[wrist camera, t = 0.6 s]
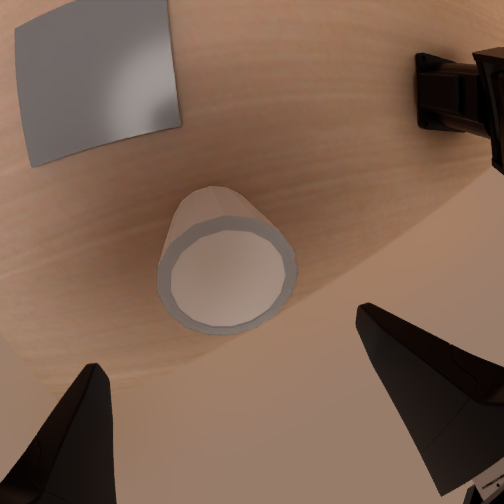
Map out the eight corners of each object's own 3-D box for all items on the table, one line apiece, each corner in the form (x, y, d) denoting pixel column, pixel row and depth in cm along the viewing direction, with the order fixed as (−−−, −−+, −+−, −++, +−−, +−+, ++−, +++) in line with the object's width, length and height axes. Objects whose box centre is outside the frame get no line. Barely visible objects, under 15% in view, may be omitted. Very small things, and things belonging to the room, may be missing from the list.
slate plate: (165, -18, 11) (165, -24, 10) (181, 125, 16) (181, 126, 15) (21, 31, 10) (14, 28, 9) (38, 164, 15) (31, 168, 14)
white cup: (238, 157, 18) (268, 188, 12) (277, 242, 22) (314, 300, 16) (143, 208, 18) (126, 262, 12) (193, 284, 22) (201, 353, 16)
